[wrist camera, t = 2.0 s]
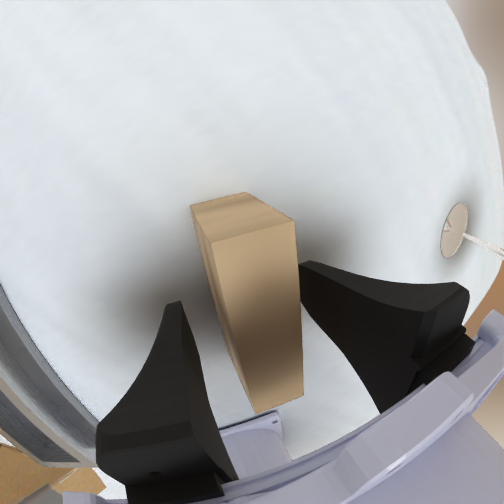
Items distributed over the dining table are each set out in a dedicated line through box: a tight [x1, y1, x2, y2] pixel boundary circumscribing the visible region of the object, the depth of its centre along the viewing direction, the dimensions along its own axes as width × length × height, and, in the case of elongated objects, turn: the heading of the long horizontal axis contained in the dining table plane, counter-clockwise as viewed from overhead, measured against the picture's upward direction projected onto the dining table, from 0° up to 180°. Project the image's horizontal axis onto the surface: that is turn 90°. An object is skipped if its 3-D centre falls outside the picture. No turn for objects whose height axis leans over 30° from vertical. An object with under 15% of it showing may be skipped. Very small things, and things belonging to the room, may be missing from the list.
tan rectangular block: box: [190, 192, 304, 414], centre depth 11 cm, size 8×2×4 cm, turn 9°
